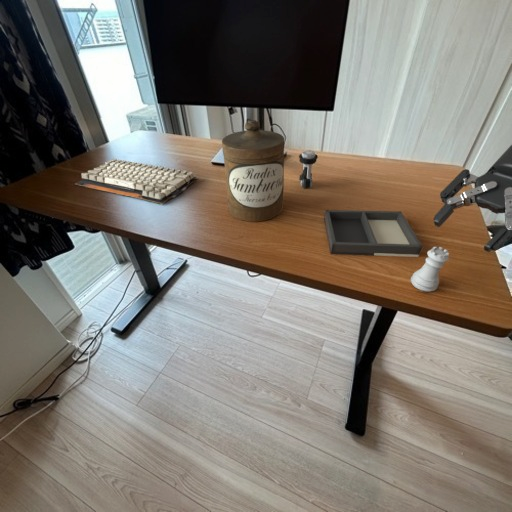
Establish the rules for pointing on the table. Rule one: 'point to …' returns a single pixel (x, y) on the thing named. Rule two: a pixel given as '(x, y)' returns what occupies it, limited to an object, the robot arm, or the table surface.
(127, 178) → the mechanical keyboard
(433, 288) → the rook chess piece
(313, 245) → the table surface
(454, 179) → the robot arm
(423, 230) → the table surface
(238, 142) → the wooden container
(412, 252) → the sorting tray
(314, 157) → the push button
